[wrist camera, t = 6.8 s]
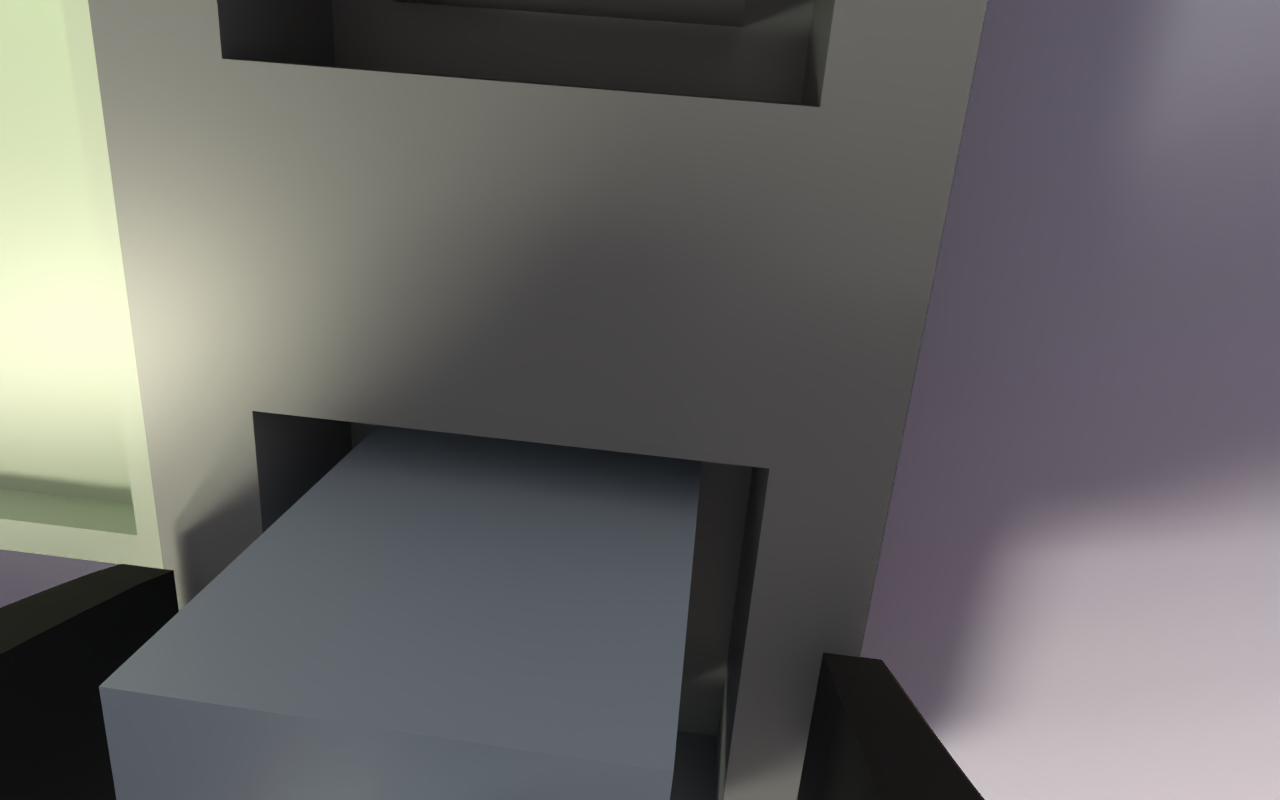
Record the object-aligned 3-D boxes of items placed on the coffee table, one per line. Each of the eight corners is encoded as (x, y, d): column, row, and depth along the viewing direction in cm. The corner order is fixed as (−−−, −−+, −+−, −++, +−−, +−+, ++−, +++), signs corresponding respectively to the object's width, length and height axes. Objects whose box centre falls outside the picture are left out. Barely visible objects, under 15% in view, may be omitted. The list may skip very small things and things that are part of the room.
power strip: (307, 716, 14) (203, 868, 12) (208, -669, 9) (-51, -1042, 6) (786, 782, 14) (800, 958, 11) (1033, -656, 8) (1195, -1065, 5)
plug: (409, 646, 13) (9, 1323, 6) (408, 397, 12) (-118, 887, 4) (673, 684, 13) (593, 1440, 6) (704, 434, 11) (652, 1018, 4)
